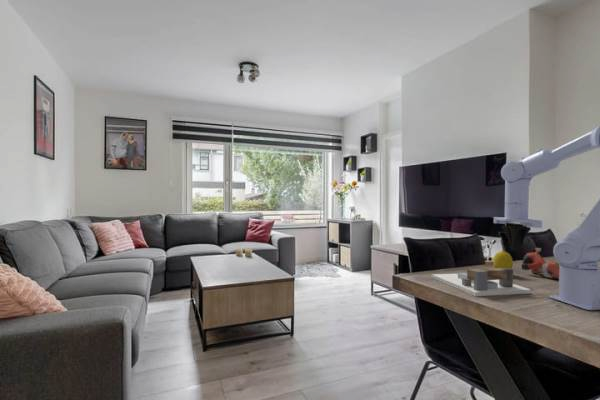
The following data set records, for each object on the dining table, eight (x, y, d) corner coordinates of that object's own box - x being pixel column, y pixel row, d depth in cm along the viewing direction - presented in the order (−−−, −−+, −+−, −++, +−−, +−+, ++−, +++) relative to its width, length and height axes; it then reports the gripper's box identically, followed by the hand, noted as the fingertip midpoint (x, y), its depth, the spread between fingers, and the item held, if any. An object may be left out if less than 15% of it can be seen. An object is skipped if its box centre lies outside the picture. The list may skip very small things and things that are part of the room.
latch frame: (530, 293, 85) (531, 271, 84) (475, 296, 81) (475, 273, 81) (478, 275, 103) (479, 257, 103) (431, 277, 100) (432, 258, 100)
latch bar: (505, 283, 90) (506, 267, 90) (515, 286, 86) (516, 270, 86) (466, 285, 87) (466, 269, 87) (474, 288, 84) (475, 271, 84)
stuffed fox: (539, 251, 112) (580, 255, 101) (530, 280, 109) (571, 286, 98) (527, 240, 110) (568, 243, 99) (518, 269, 107) (559, 274, 96)
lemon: (516, 276, 103) (516, 252, 103) (499, 276, 103) (499, 251, 103) (505, 272, 109) (506, 249, 109) (489, 272, 109) (490, 249, 109)
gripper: (485, 202, 98) (484, 246, 98) (526, 204, 84) (525, 255, 84) (505, 203, 99) (504, 246, 99) (549, 204, 85) (547, 254, 85)
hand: (515, 250), depth 92 cm, fingers closed
